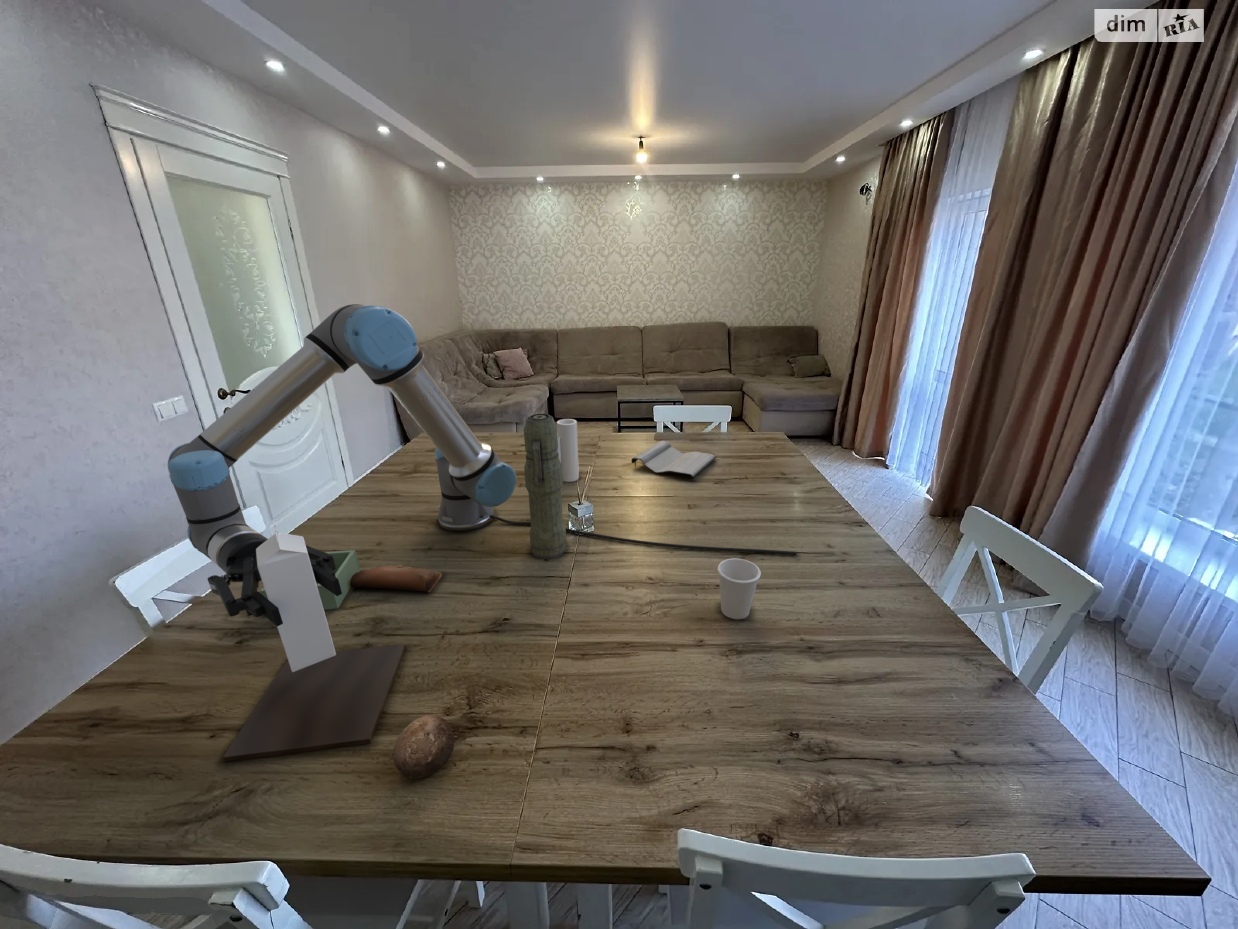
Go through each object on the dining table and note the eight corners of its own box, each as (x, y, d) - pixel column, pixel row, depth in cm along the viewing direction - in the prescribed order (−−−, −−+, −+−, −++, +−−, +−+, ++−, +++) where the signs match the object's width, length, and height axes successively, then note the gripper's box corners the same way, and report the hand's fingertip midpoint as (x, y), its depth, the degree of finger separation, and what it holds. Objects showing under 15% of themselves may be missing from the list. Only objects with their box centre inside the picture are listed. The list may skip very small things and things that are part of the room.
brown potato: (406, 713, 73) (408, 706, 69) (458, 724, 75) (463, 717, 70) (384, 775, 68) (384, 771, 63) (440, 785, 70) (444, 782, 65)
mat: (693, 482, 161) (693, 469, 159) (631, 469, 172) (631, 457, 170) (716, 460, 179) (717, 448, 178) (659, 450, 190) (659, 438, 189)
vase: (579, 473, 168) (577, 418, 161) (578, 482, 162) (576, 424, 154) (546, 474, 168) (542, 419, 160) (544, 483, 161) (540, 425, 154)
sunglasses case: (444, 571, 113) (434, 558, 108) (435, 600, 109) (424, 588, 103) (372, 567, 115) (358, 554, 109) (360, 595, 110) (345, 583, 105)
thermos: (567, 536, 128) (560, 409, 115) (564, 561, 117) (556, 423, 104) (534, 537, 128) (523, 409, 115) (528, 562, 117) (515, 424, 104)
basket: (360, 571, 114) (355, 549, 112) (337, 608, 101) (331, 584, 99) (298, 576, 112) (291, 554, 110) (267, 615, 100) (259, 591, 97)
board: (405, 648, 91) (404, 643, 90) (370, 743, 72) (369, 738, 72) (291, 660, 88) (289, 655, 88) (224, 762, 70) (222, 757, 69)
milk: (292, 673, 73) (249, 547, 65) (288, 650, 77) (248, 529, 69) (337, 655, 76) (302, 533, 68) (331, 633, 81) (297, 517, 73)
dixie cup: (732, 628, 95) (736, 586, 91) (706, 604, 102) (709, 564, 98) (764, 615, 98) (769, 574, 95) (737, 593, 105) (741, 554, 102)
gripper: (313, 546, 91) (380, 588, 79) (176, 603, 76) (233, 665, 63) (303, 511, 88) (371, 548, 76) (159, 562, 73) (216, 619, 61)
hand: (308, 601), depth 70 cm, fingers closed on milk, 7 cm apart
